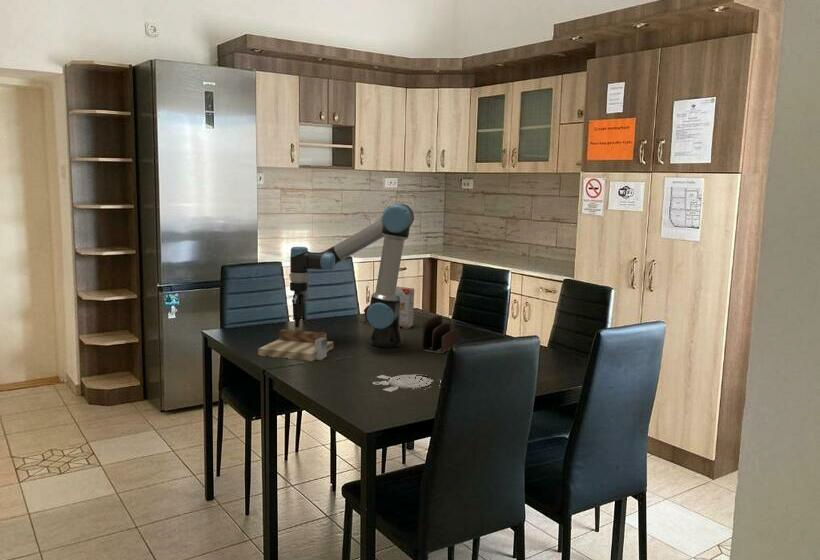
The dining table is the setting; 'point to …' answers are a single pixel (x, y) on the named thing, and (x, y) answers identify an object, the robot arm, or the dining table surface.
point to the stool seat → (291, 350)
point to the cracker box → (406, 305)
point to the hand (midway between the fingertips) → (297, 333)
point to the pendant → (404, 382)
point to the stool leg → (301, 335)
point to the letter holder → (438, 335)
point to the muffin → (366, 313)
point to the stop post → (320, 348)
